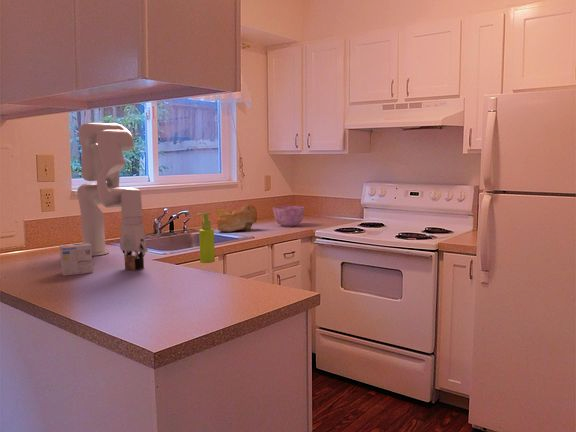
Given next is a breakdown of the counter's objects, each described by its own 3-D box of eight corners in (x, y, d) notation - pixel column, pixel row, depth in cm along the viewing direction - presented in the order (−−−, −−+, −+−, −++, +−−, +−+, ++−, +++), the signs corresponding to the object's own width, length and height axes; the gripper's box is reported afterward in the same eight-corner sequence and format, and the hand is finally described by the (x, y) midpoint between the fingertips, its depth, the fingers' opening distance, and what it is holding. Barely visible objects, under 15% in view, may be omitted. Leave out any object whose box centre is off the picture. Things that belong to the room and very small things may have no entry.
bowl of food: (266, 226, 316) (265, 208, 315) (285, 223, 333) (285, 205, 331) (293, 229, 305) (292, 209, 304) (311, 225, 321) (311, 206, 320)
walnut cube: (125, 269, 199) (124, 256, 198) (135, 266, 203) (134, 254, 202) (133, 270, 196) (132, 257, 195) (144, 268, 200) (143, 255, 200)
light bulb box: (90, 269, 199) (89, 241, 198) (93, 272, 193) (92, 244, 192) (60, 273, 194) (58, 244, 193) (62, 276, 188) (60, 247, 187)
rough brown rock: (254, 229, 312) (253, 204, 312) (258, 230, 296) (257, 204, 296) (216, 232, 308) (214, 207, 307) (218, 233, 292) (216, 207, 291)
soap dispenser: (196, 261, 212) (195, 212, 210) (213, 259, 215) (211, 211, 212) (198, 263, 207) (197, 214, 205) (215, 262, 209) (214, 213, 207)
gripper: (109, 220, 199) (112, 267, 201) (139, 223, 190) (141, 272, 192) (125, 218, 205) (128, 263, 207) (155, 221, 196) (157, 268, 198)
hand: (134, 267), depth 199 cm, fingers closed on walnut cube, 5 cm apart
